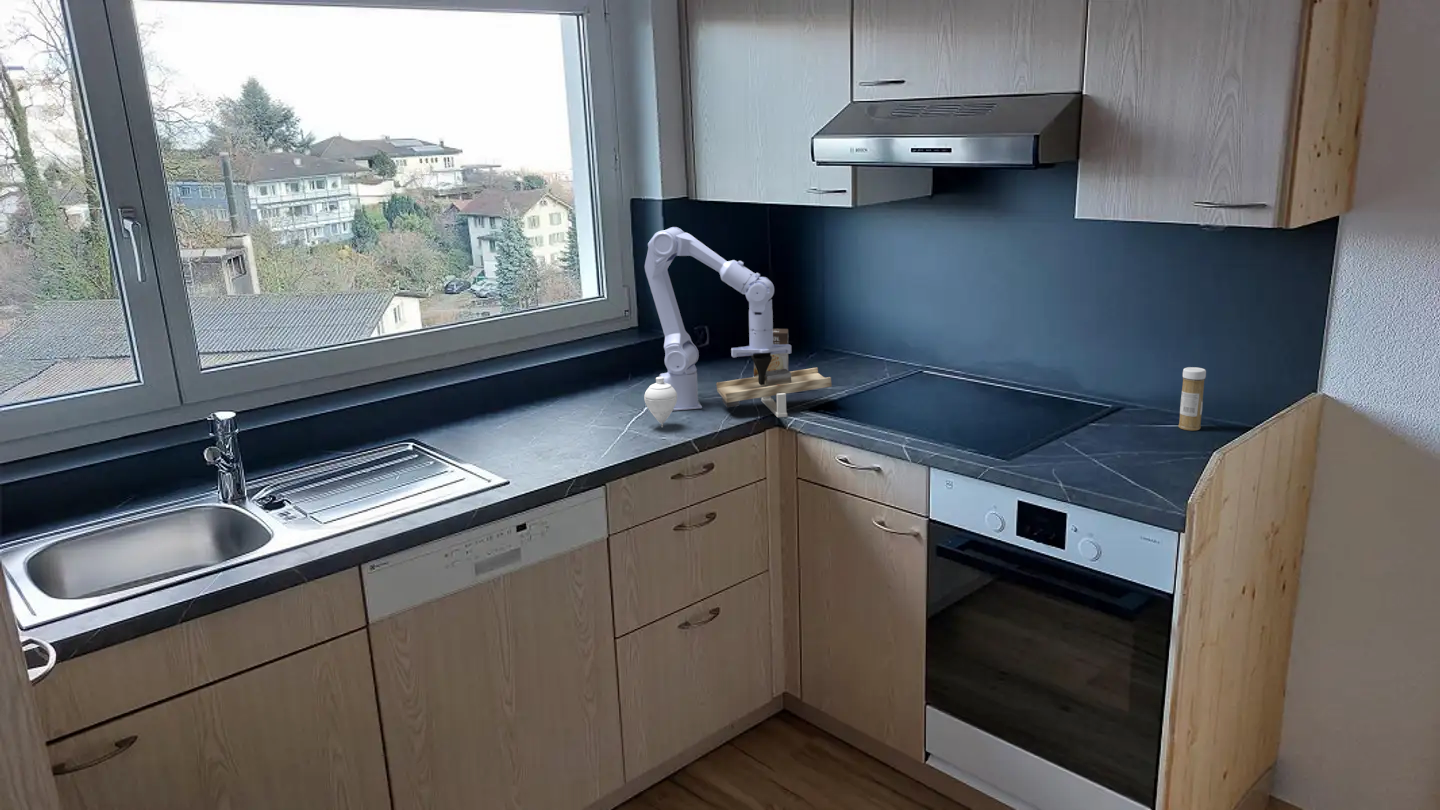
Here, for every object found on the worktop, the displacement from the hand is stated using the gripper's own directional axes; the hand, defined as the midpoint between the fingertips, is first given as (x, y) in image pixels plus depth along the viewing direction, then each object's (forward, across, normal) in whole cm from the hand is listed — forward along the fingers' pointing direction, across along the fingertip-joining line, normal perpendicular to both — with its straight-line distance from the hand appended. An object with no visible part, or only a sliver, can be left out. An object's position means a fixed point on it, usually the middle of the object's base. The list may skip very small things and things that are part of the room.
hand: (761, 383), depth 247 cm
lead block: (0, +4, 0) cm, 4 cm away
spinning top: (+7, -26, -8) cm, 28 cm away
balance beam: (+4, +3, 0) cm, 5 cm away
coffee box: (+7, +7, +18) cm, 20 cm away
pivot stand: (+6, +3, 0) cm, 7 cm away
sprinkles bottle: (+6, +86, -44) cm, 97 cm away
